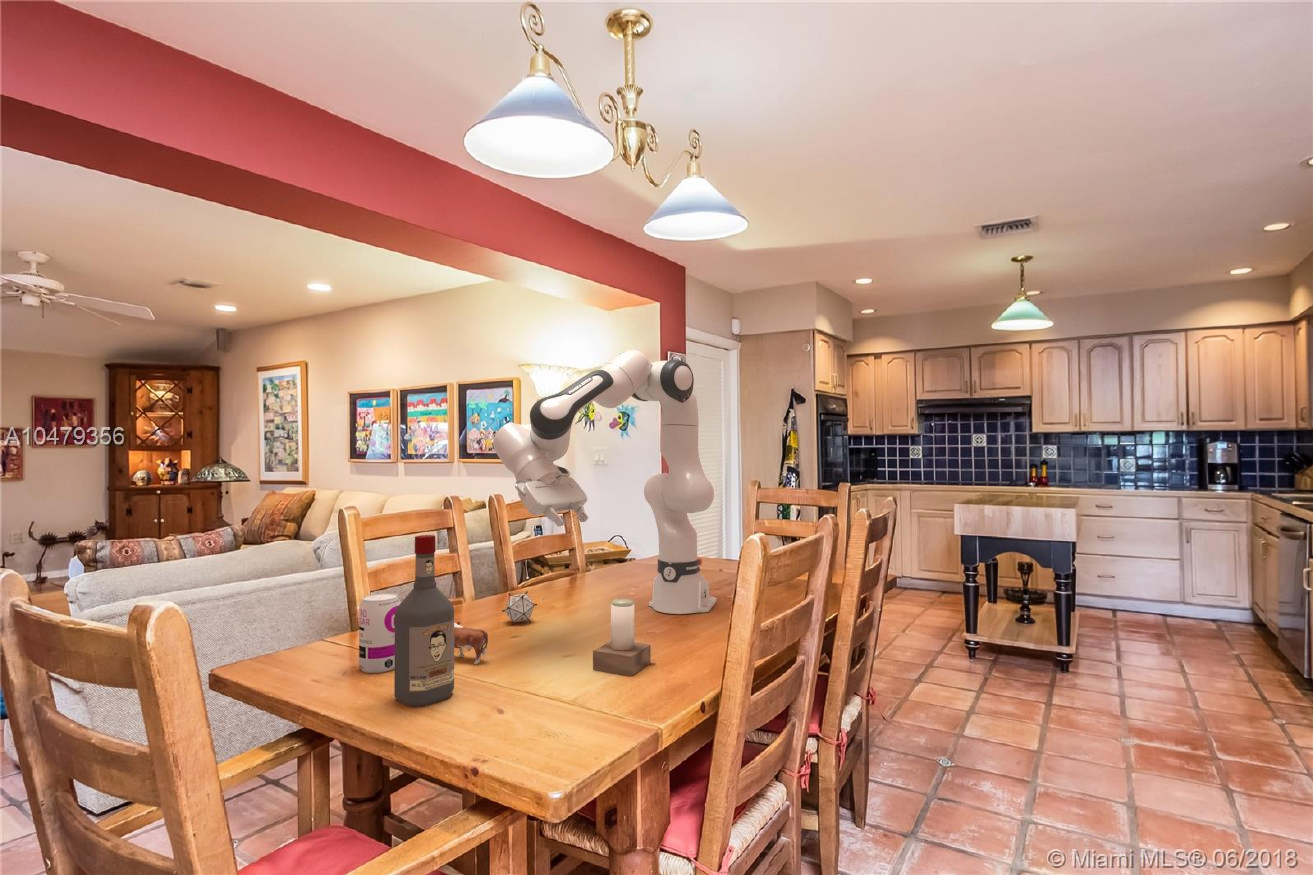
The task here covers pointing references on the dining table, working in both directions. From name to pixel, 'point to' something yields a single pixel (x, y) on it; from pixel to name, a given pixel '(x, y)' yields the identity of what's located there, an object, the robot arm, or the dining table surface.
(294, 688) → the dining table surface
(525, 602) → the game die
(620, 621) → the jar
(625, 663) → the plinth
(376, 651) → the supplement can
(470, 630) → the bull figurine
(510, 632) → the dining table surface
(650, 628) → the dining table surface
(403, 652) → the liquor
